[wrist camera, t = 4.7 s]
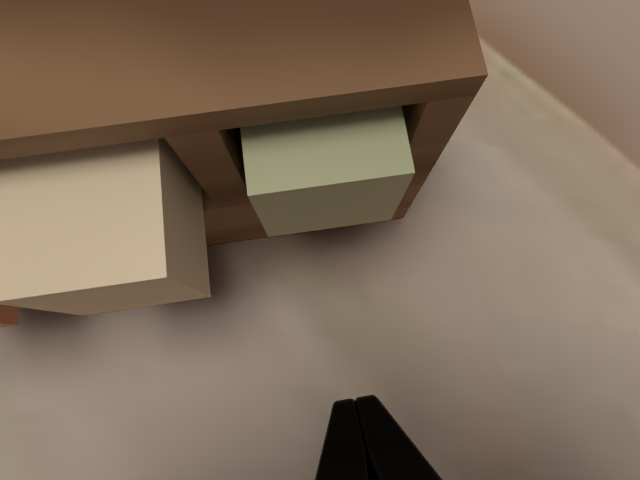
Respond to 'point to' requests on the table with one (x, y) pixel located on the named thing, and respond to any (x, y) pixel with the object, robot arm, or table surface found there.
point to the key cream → (101, 229)
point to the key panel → (230, 79)
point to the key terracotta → (8, 315)
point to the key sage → (327, 170)
